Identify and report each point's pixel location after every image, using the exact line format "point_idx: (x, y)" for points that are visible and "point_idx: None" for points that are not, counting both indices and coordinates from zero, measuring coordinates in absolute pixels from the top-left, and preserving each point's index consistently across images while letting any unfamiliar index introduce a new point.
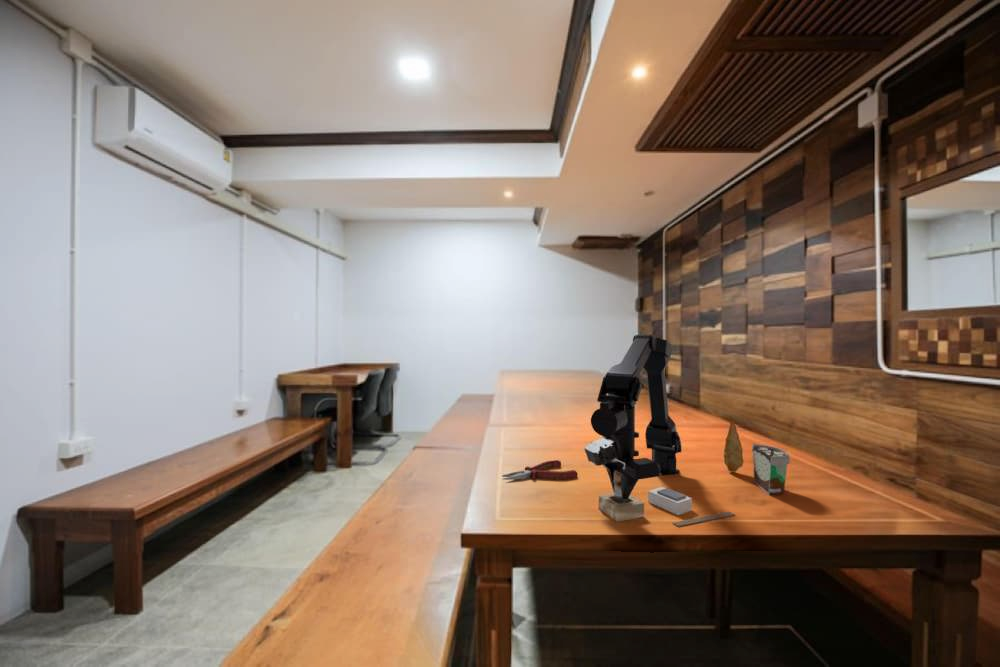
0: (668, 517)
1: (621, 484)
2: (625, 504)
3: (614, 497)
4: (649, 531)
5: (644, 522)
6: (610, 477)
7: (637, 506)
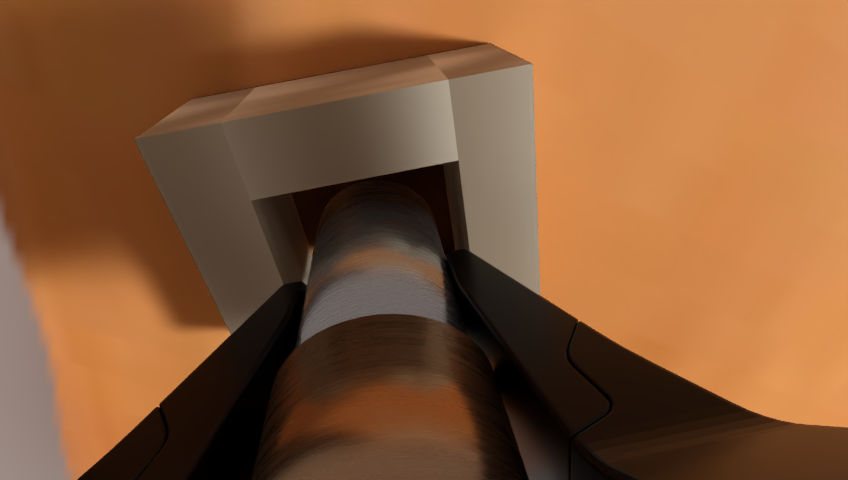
0: None
1: (229, 397)
2: (235, 259)
3: (396, 215)
4: (33, 275)
5: (192, 299)
6: (553, 341)
7: None
